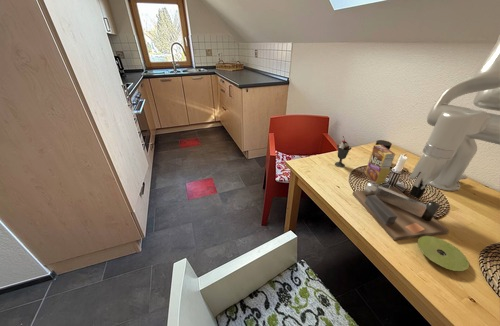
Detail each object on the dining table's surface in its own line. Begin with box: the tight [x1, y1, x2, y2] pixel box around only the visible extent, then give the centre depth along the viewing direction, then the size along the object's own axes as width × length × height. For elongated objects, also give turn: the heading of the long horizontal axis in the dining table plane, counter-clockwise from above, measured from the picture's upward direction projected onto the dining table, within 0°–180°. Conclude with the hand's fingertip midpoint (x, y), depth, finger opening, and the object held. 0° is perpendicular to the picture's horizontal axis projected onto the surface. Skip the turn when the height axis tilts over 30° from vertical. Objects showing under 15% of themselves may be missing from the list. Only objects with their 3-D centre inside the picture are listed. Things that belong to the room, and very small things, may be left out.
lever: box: [364, 180, 441, 221], centre depth 73 cm, size 21×4×6 cm, turn 43°
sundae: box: [334, 136, 352, 168], centre depth 99 cm, size 7×7×15 cm
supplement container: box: [374, 139, 392, 151], centre depth 104 cm, size 7×7×10 cm
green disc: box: [417, 236, 470, 272], centre depth 58 cm, size 11×11×2 cm
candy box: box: [364, 144, 396, 185], centre depth 88 cm, size 9×4×15 cm, turn 2°
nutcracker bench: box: [352, 186, 450, 241], centre depth 73 cm, size 19×23×5 cm
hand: (415, 195), depth 73 cm, fingers closed
